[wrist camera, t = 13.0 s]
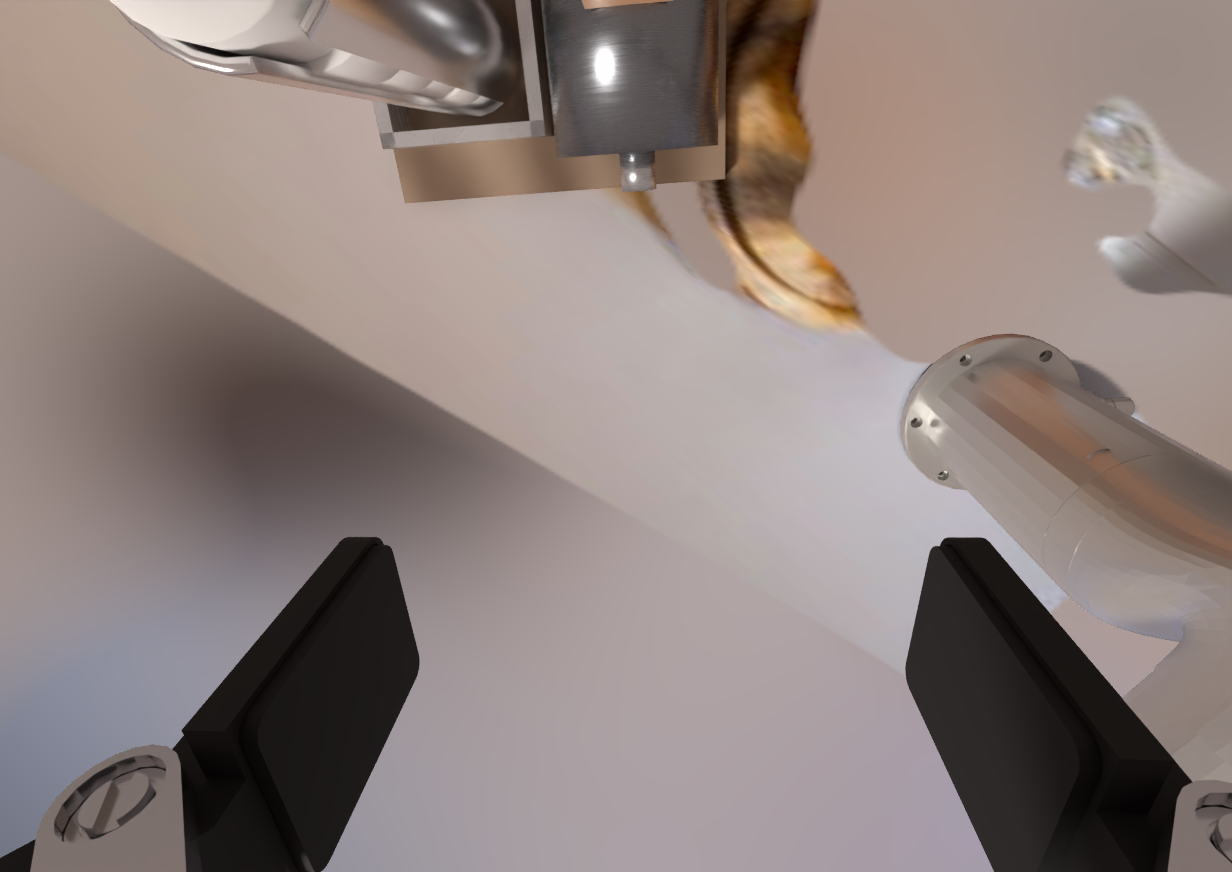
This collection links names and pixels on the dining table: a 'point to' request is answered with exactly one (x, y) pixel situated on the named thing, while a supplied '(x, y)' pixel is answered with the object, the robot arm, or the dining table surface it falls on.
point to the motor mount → (581, 106)
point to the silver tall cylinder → (347, 46)
